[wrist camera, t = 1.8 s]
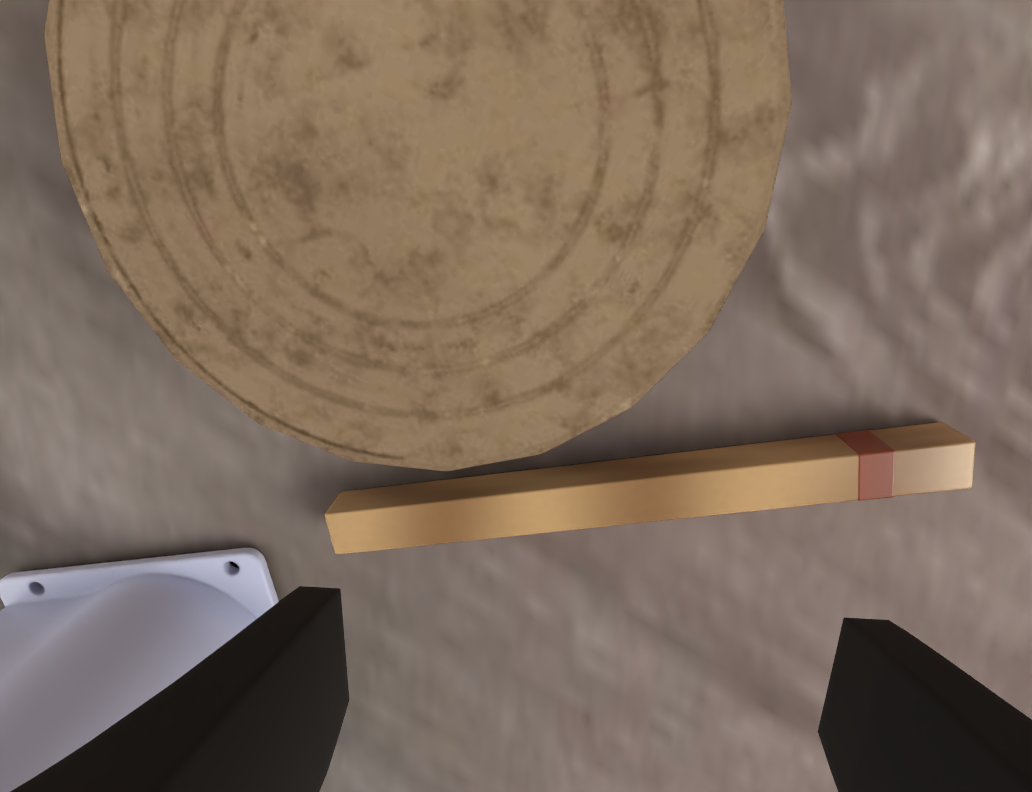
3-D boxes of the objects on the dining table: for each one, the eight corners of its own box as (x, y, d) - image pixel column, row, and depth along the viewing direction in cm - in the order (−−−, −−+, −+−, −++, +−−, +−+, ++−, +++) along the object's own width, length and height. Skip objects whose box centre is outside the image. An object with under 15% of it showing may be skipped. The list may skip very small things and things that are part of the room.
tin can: (629, -404, 12) (651, -584, 10) (815, 317, 17) (869, 342, 14) (15, -46, 15) (-111, -103, 12) (311, 495, 19) (268, 546, 16)
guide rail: (351, 530, 20) (334, 556, 18) (340, 490, 19) (322, 514, 18) (939, 465, 18) (973, 489, 16) (942, 420, 17) (977, 440, 16)
